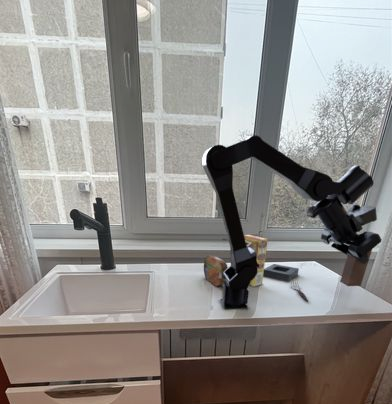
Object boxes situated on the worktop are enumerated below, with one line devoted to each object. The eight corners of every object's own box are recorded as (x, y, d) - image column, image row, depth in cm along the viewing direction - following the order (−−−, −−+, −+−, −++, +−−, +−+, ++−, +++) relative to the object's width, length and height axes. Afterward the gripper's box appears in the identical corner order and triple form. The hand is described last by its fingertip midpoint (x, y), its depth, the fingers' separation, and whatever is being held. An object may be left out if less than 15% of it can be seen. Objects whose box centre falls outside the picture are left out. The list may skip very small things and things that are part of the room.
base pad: (288, 281, 101) (289, 274, 100) (262, 276, 106) (263, 269, 105) (297, 274, 109) (298, 268, 107) (272, 270, 114) (273, 263, 112)
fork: (302, 302, 85) (304, 296, 84) (289, 284, 99) (290, 279, 98) (311, 303, 85) (313, 296, 84) (296, 284, 99) (297, 279, 98)
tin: (202, 275, 105) (203, 252, 101) (210, 275, 106) (211, 252, 102) (219, 289, 93) (221, 264, 89) (228, 288, 94) (230, 263, 90)
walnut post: (347, 286, 81) (361, 238, 75) (340, 281, 85) (352, 236, 78) (360, 286, 82) (375, 239, 75) (352, 281, 85) (366, 236, 79)
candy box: (262, 284, 98) (268, 238, 90) (253, 287, 96) (259, 239, 88) (245, 277, 104) (249, 234, 97) (236, 279, 102) (240, 235, 95)
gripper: (388, 196, 63) (413, 247, 70) (341, 191, 79) (366, 233, 86) (344, 233, 66) (373, 278, 73) (308, 221, 82) (334, 259, 89)
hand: (361, 260), depth 80 cm, fingers closed on walnut post, 4 cm apart
